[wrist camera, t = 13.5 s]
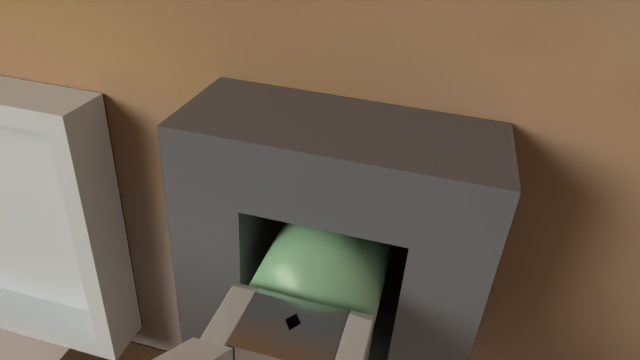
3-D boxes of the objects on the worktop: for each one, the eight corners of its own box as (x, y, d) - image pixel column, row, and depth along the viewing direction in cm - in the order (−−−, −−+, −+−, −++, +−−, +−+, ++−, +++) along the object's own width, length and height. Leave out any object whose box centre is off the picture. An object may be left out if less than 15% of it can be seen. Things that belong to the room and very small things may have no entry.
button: (288, 180, 13) (242, 253, 10) (400, 202, 12) (379, 284, 10) (285, 266, 14) (244, 348, 12) (385, 288, 14) (364, 380, 11)
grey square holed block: (220, 77, 13) (157, 125, 10) (512, 123, 11) (521, 192, 9) (229, 286, 16) (184, 360, 14) (451, 340, 15) (445, 432, 13)
